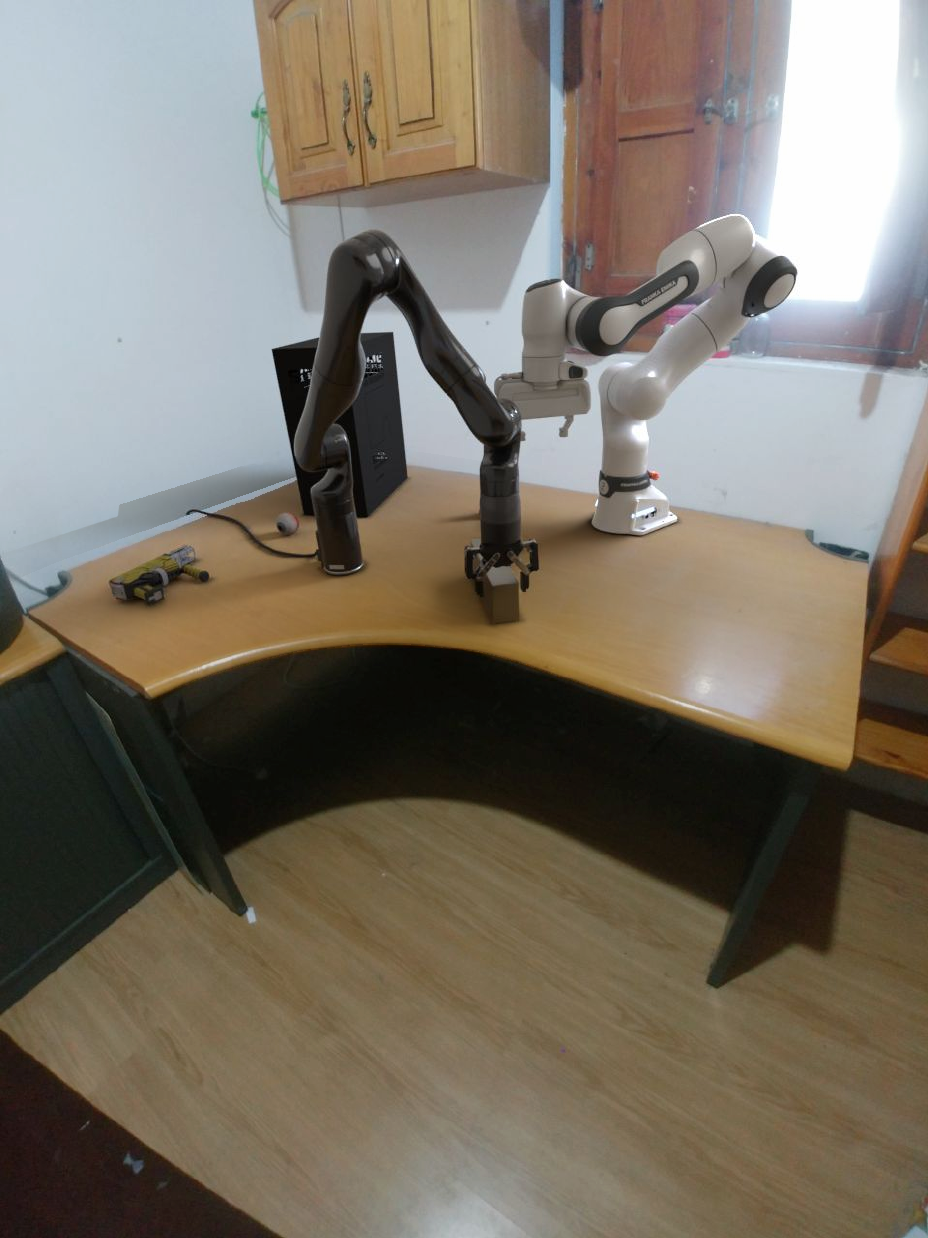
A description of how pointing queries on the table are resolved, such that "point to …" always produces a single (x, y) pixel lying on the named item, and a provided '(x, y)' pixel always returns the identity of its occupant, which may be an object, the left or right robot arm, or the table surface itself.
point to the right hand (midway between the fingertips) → (542, 438)
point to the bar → (499, 590)
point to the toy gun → (155, 576)
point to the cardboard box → (352, 420)
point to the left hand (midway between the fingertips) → (502, 593)
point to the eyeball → (287, 523)
